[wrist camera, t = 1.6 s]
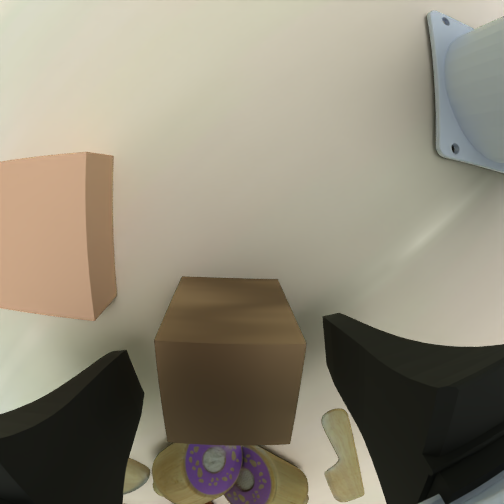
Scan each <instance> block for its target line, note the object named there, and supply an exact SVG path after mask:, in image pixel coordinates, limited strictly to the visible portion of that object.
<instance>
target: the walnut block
mask: <svg viewBox="0 0 504 504" xmlns="http://www.w3.org/2000/svg"><path fill="white" fill-rule="evenodd" d="M154 343H155V353H156V363H157V372H158V380H159V388H160V395H161V403H162V410H163V416H164V423H165V429H166V435H167V441H168V442H172V443H184V444H199V445H228V446H252V445H281V444H290V441H291V436H292V430H293V425H294V419H295V414H296V408H297V402H298V396H299V390H300V384H301V378H302V371H303V365H304V358H305V351H306V342H305V339H304V337H303V335H302V333H301V330H300V328H299V326H298V324H297V321H296V319H295V317H294V315H293V312H292V310H291V308H290V306H289V303H288V301H287V299H286V297H285V294H284V292H283V290H282V288H281V286H280V283H279V281H278V279H242V278H209V277H182V278H181V280H180V282H179V285H178V287H177V289H176V291H175V294H174V296H173V298H172V300H171V303H170V305H169V307H168V309H167V312H166V314H165V316H164V319H163V321H162V323H161V326H160V328H159V330H158V333H157V335H156V337H155V340H154Z"/></svg>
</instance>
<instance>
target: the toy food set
mask: <svg viewBox="0 0 504 504" xmlns="http://www.w3.org/2000/svg"><path fill="white" fill-rule="evenodd" d="M322 425H323V428H324V430H325V432H326V434H327V436H328V438H329V440H330V442H331V444H332V446H333V448H334V450H335V452H336V454H337V455H338V457H339V459H338V462H337V463H336V464H335V465H334V466H332V467H331V468H329V469H328V470H327V471H326V472H325V477H326V480H327V482H328V485H329V487H330V490H331V492H332V494H333V496H334V498H335V499H336V500H337V501H339V502H348V501H351V500H354V499H356V498H359V497H361V496H363V495H364V488H363V483H362V478H361V472H360V467H359V462H358V457H357V453H356V448H355V443H354V439H353V434H352V430H351V426H350V422H349V418H348V414H347V412H346V411H345V410H343V409H333V410H330V411H328V412H327V413H325V414H324V415H323V417H322ZM149 475H150V469H149V468H148V467H146V466H145V465H143V464H141V463H139V462H137V461H135V460H133V459H131V458H128V462H127V467H126V473H125V481H124V489H123V494H127V493H130V492H132V491H134V490H136V489H138V488H140V487H141V486H142V485H144V484H145V483H146V482H147V480H148V478H149ZM152 475H153V481H154V482H153V488H154V491H155V492H156V493H157V494H158V495H160V496H163V497H165V498H166V499H168V500H169V501H171V502H173V503H175V504H213V503H212V502H211V501H212V500H214V499H216V498H218V497H220V496H222V495H224V496H225V497H226V499H227V500H228V501H229V502H230V503H231V504H307V502H308V500H309V497H308V495H307V494H308V482H307V478H306V476H305V475H304V473H303V472H302V471H301V470H300V469H298V468H297V467H295V466H293V465H292V464H290V463H288V462H286V461H284V460H283V459H281V458H279V457H277V456H275V455H273V454H272V453H270V452H268V451H266V450H265V449H263V448H261V447H259V446H257V445H252V446H228V445H199V444H184V443H173V444H172V445H170V446H169V447H167V448H166V449H164V450H163V451H162V452H160V453H159V454H158V456H157V457H156V459H155V460H154V463H153V467H152Z"/></svg>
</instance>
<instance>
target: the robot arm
mask: <svg viewBox="0 0 504 504" xmlns="http://www.w3.org/2000/svg"><path fill="white" fill-rule="evenodd" d="M427 19H428V26H429V33H430V41H431V49H432V59H433V70H434V84H435V105H436V150H437V152H438V154H439V155H440V156H442V157H444V158H448V159H452V160H456V161H460V162H464V163H468V164H472V165H476V166H479V167H483V168H487V169H490V170H493V171H497V172H500V173H503V174H504V16H503V17H501V18H499V19H497V20H494V21H492V22H490V23H488V24H485V25H483V26H481V27H479V28H477V29H473V28H471V27H469V26H467V25H465V24H463V23H461V22H459V21H457V20H455V19H453V18H451V17H449V16H447V15H444V14H442V13H440V12H438V11H434V10H433V11H431V12H429V13H428V14H427ZM443 22H444V23H445V24H444V23H443ZM452 145H453V146H454V149H455V151H454V153H453V151H452ZM323 328H324V339H325V350H326V363H327V366H328V369H329V372H330V374H331V377H332V380H333V382H334V385H335V387H336V388H337V390H338V392H339V394H340V396H341V397H342V399H343V401H344V403H345V405H346V406H347V408H348V410H349V412H350V413H351V415H352V417H353V419H354V421H355V422H356V424H357V426H358V428H359V430H360V432H361V434H362V436H363V438H364V441H365V443H366V446H367V448H368V451H369V453H370V456H371V459H372V461H373V464H374V467H375V470H376V472H377V475H378V478H379V481H380V484H381V487H382V490H383V493H384V496H385V500H386V503H387V504H504V344H503V345H494V346H484V347H454V346H443V345H434V344H428V343H422V342H418V341H413V340H409V339H405V338H402V337H398V336H395V335H392V334H389V333H386V332H384V331H381V330H378V329H376V328H373V327H371V326H369V325H366V324H364V323H362V322H360V321H357V320H355V319H353V318H351V317H348V316H346V315H344V314H341V313H336V314H332V315H328V316H323ZM143 398H144V392H143V389H142V387H141V385H140V382H139V380H138V378H137V375H136V373H135V370H134V368H133V365H132V363H131V360H130V358H129V355H128V353H127V350H121V351H112V352H110V353H108V354H107V355H105V356H103V357H102V358H100V359H99V360H97V361H96V362H95V363H93V364H92V365H90V366H89V367H88V368H86V369H85V370H84V371H82V372H81V373H79V374H78V375H77V376H75V377H74V378H72V379H71V380H69V381H68V382H66V383H65V384H63V385H62V386H60V387H59V388H57V389H56V390H54V391H52V392H51V393H49V394H47V395H45V396H43V397H42V398H40V399H38V400H36V401H34V402H32V403H29V404H27V405H24V406H22V407H20V408H17V409H15V410H12V411H9V412H6V413H3V414H0V504H122V503H123V489H124V481H125V473H126V467H127V462H128V458H129V455H130V451H131V448H132V444H133V441H134V438H135V434H136V431H137V428H138V424H139V421H140V417H141V413H142V406H143Z"/></svg>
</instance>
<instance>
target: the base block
mask: <svg viewBox="0 0 504 504" xmlns="http://www.w3.org/2000/svg"><path fill="white" fill-rule="evenodd" d="M116 296H117V288H116V276H115V261H114V242H113V156H112V155H105V154H97V153H90V152H80V153H68V154H58V155H48V156H39V157H31V158H23V159H16V160H9V161H2V162H0V308H3V309H9V310H15V311H21V312H28V313H35V314H42V315H49V316H57V317H65V318H73V319H82V320H91V321H95V320H96V319H97V318H98V317H99V315H100V314H101V313H102V312H103V311H104V310H105V308H106V307H107V306H108V305H109V304H110V303H111V302H112V300H113V299H114V298H115V297H116Z"/></svg>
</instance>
